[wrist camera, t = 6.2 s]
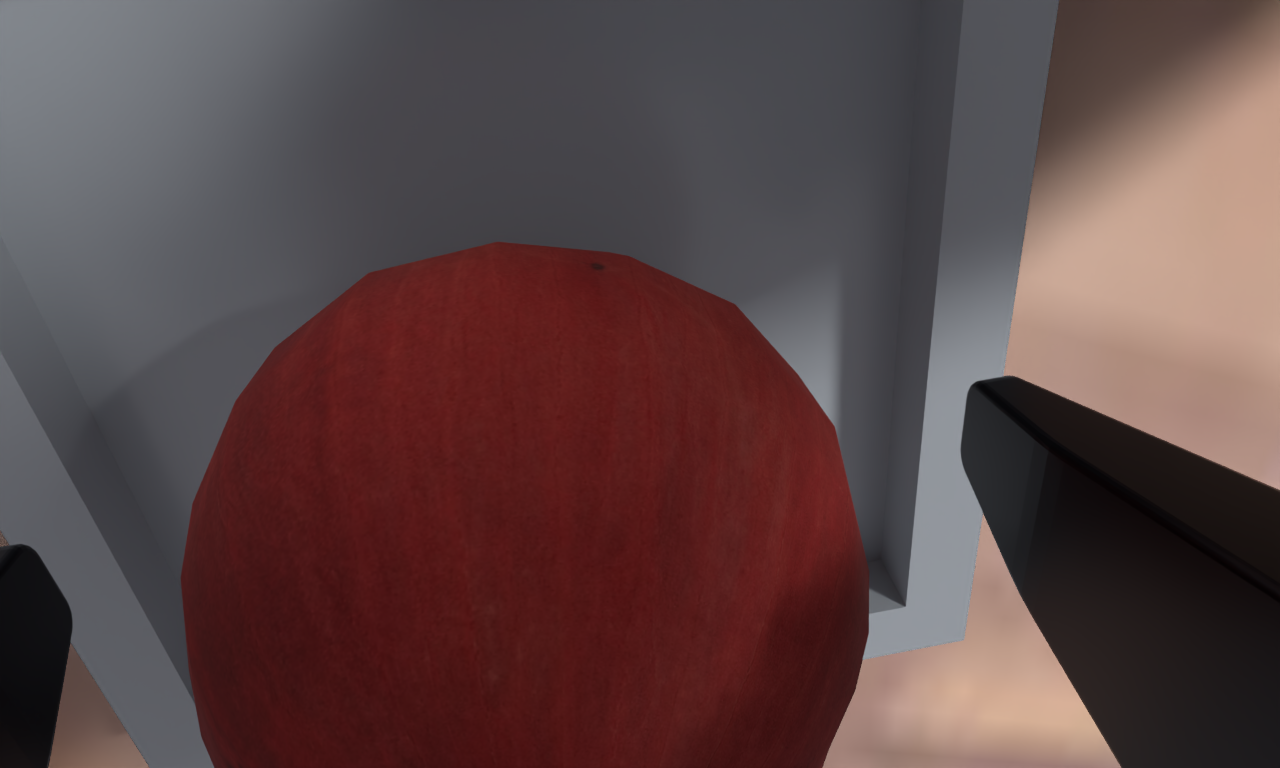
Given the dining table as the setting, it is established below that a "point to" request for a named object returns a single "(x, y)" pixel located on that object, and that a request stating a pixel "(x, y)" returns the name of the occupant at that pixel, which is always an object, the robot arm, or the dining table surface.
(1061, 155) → the dining table surface
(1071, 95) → the dining table surface
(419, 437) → the onion
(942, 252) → the dish
